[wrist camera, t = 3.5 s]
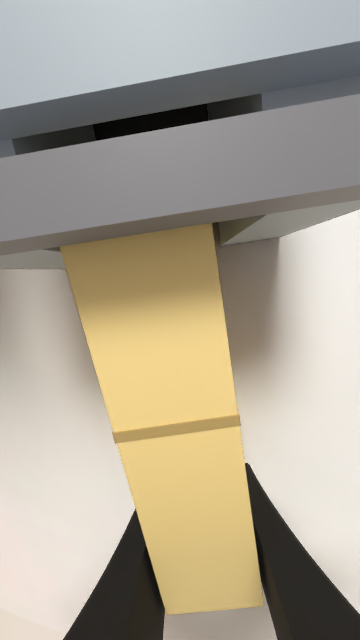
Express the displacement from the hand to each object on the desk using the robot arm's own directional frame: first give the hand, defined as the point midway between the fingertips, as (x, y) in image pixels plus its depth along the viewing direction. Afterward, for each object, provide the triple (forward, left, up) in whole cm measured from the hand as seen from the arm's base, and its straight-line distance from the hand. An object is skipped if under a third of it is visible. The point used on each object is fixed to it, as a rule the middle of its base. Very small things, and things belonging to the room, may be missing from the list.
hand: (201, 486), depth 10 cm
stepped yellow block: (0, -5, -1) cm, 5 cm away
